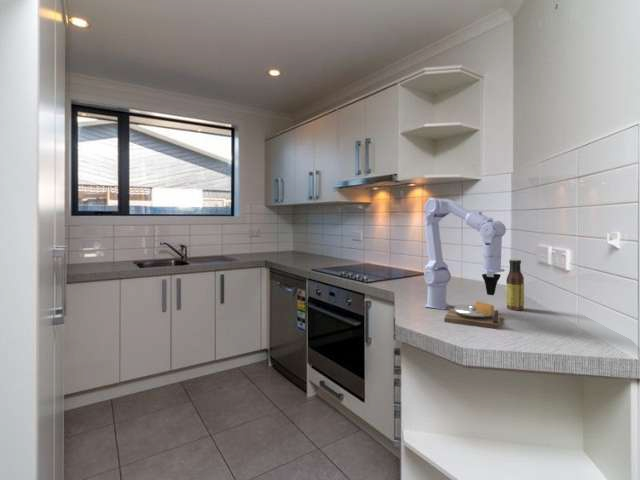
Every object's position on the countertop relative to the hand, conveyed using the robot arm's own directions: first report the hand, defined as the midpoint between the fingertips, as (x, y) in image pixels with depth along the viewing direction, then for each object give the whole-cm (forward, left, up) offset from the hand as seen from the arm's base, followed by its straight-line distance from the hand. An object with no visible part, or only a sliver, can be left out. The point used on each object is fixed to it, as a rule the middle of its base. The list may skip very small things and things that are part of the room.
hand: (490, 294), depth 123 cm
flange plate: (+1, -5, -7) cm, 9 cm away
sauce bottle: (-24, +8, -10) cm, 27 cm away
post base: (+1, -5, -9) cm, 11 cm away
